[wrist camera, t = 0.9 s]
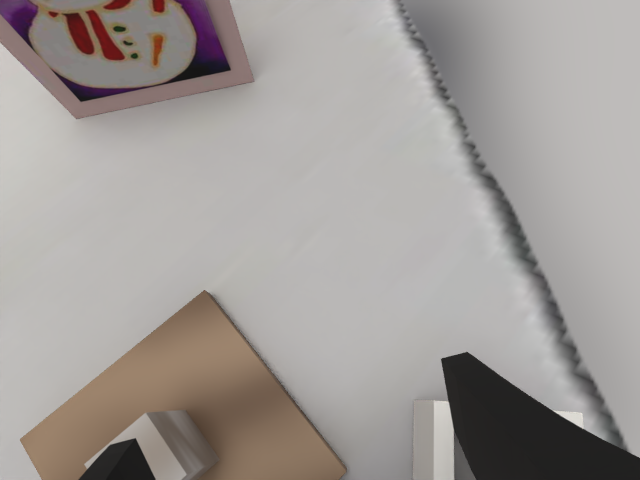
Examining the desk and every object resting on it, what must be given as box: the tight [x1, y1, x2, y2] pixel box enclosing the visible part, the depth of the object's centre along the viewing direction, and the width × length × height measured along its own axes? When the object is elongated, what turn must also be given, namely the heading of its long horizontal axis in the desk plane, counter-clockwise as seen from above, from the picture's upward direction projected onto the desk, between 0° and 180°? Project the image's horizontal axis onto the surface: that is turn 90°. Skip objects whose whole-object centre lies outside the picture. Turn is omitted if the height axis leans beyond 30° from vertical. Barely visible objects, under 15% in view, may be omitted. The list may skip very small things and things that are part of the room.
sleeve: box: [413, 400, 584, 480], centre depth 19 cm, size 5×5×6 cm
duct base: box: [20, 290, 347, 480], centre depth 20 cm, size 11×11×6 cm
